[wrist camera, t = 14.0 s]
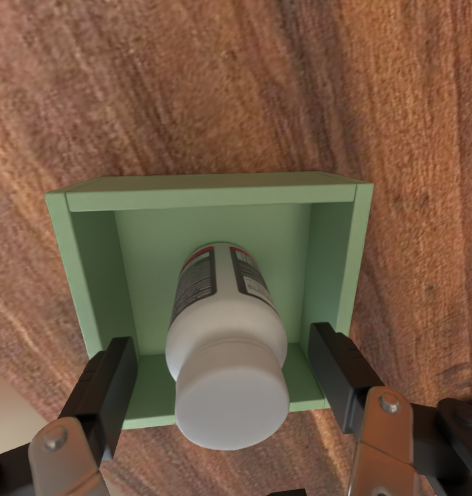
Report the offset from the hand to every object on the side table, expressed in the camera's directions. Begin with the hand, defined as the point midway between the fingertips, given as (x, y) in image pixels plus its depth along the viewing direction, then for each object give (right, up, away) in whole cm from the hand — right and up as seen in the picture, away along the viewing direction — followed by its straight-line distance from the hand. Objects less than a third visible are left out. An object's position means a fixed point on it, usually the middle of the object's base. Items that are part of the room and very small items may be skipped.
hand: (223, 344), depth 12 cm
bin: (-1, +3, +7) cm, 7 cm away
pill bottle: (-1, +2, +6) cm, 7 cm away
